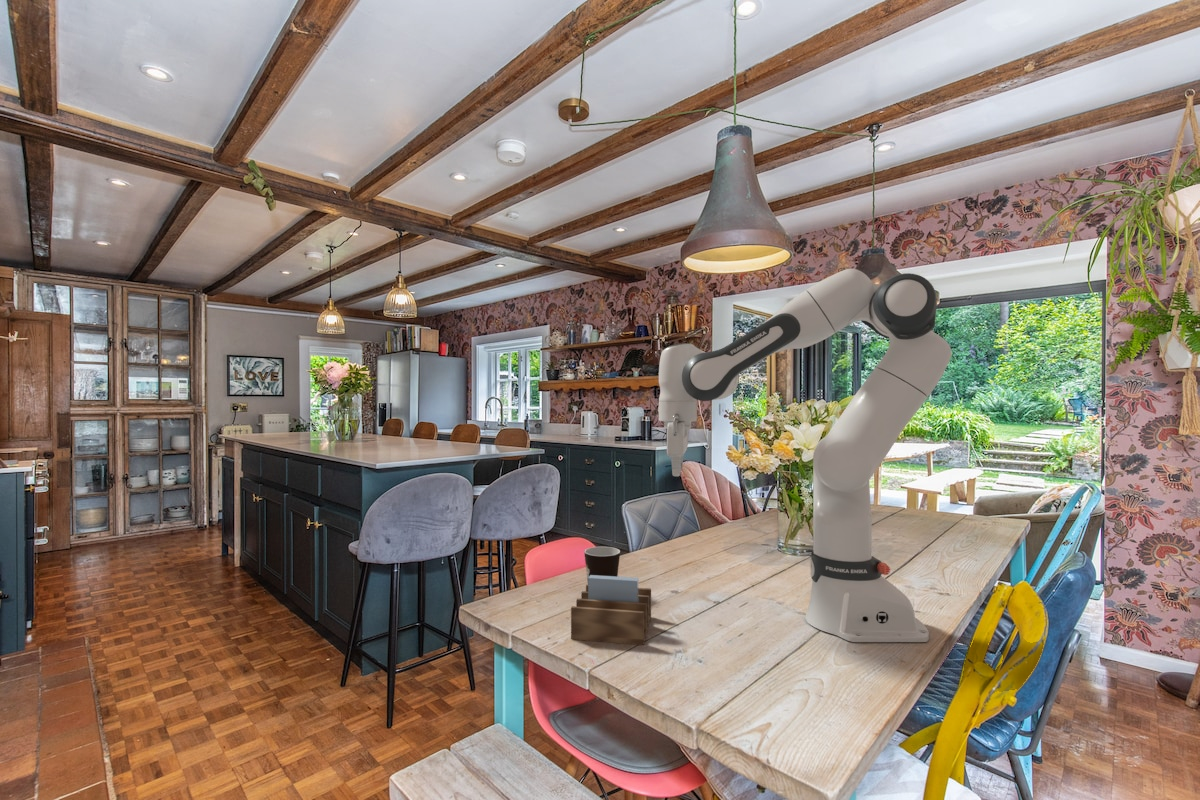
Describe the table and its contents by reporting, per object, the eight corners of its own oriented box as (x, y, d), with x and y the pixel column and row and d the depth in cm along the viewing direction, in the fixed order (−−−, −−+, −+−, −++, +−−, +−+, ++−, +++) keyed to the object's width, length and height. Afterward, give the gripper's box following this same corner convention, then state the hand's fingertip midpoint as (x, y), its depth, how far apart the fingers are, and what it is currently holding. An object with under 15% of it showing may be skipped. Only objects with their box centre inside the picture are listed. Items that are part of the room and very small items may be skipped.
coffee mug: (616, 600, 127) (616, 557, 127) (580, 598, 129) (580, 555, 129) (624, 584, 139) (624, 544, 139) (591, 582, 140) (591, 542, 141)
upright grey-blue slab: (638, 622, 112) (638, 577, 112) (637, 626, 110) (637, 581, 110) (590, 618, 114) (590, 574, 114) (588, 622, 112) (588, 577, 112)
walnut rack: (651, 616, 118) (651, 588, 118) (643, 645, 104) (643, 613, 104) (586, 612, 120) (586, 584, 120) (571, 638, 107) (571, 607, 107)
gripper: (689, 414, 118) (689, 479, 118) (692, 413, 138) (692, 468, 138) (660, 414, 119) (660, 478, 119) (667, 413, 139) (667, 468, 139)
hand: (677, 473), depth 129 cm, fingers open, 8 cm apart
